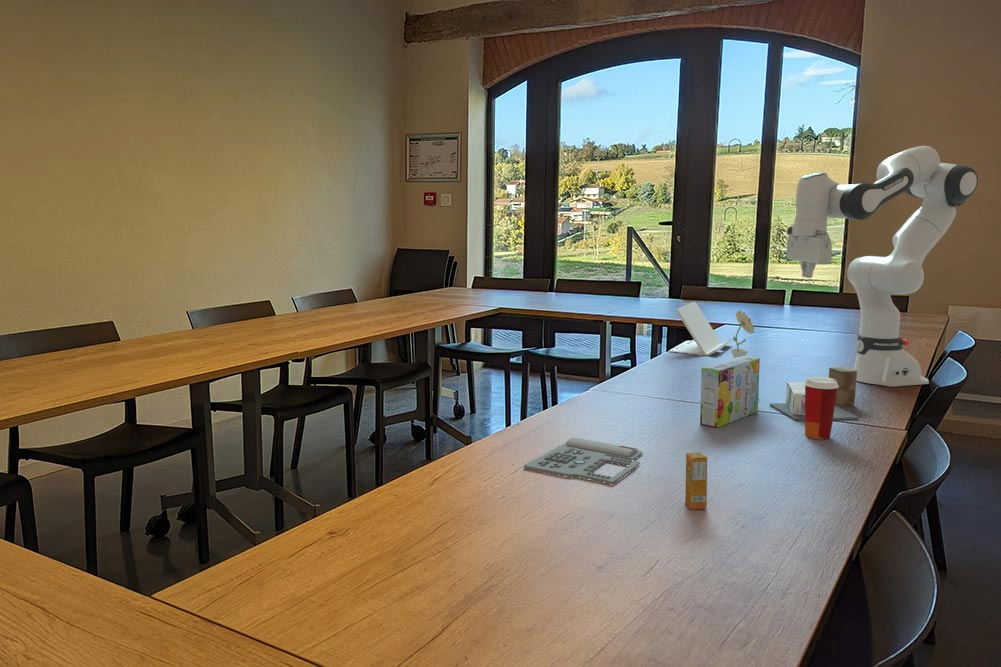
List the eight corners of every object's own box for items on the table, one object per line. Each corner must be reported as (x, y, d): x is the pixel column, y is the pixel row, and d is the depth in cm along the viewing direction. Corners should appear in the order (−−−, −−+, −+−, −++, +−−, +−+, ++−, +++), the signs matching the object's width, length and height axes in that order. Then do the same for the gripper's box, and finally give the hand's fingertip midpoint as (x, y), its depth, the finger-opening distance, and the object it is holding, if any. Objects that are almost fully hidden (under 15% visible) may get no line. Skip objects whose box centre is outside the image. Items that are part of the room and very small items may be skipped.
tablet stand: (668, 352, 285) (670, 308, 282) (686, 342, 306) (688, 300, 303) (717, 357, 276) (719, 311, 273) (732, 346, 297) (734, 303, 295)
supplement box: (682, 503, 141) (685, 451, 139) (700, 502, 141) (703, 451, 139) (688, 510, 137) (691, 457, 136) (707, 509, 138) (709, 457, 136)
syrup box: (806, 402, 210) (816, 416, 196) (784, 401, 211) (792, 415, 198) (808, 382, 209) (818, 395, 195) (786, 381, 211) (794, 393, 197)
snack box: (739, 408, 206) (742, 354, 204) (758, 412, 202) (762, 357, 200) (697, 424, 191) (700, 366, 189) (717, 429, 187) (721, 369, 185)
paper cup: (833, 433, 184) (837, 377, 181) (836, 442, 177) (840, 384, 174) (798, 430, 186) (802, 375, 184) (800, 439, 179) (804, 381, 177)
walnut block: (841, 401, 214) (844, 366, 212) (854, 405, 209) (857, 370, 207) (826, 402, 213) (829, 367, 211) (838, 407, 208) (841, 371, 206)
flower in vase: (759, 403, 212) (765, 314, 208) (717, 400, 214) (722, 313, 210) (754, 391, 224) (759, 308, 220) (714, 389, 227) (718, 307, 222)
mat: (828, 404, 210) (828, 402, 210) (858, 419, 196) (858, 417, 196) (769, 405, 209) (769, 403, 209) (795, 421, 194) (795, 418, 194)
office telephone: (573, 432, 178) (654, 446, 168) (573, 443, 178) (654, 457, 168) (523, 458, 159) (611, 476, 148) (523, 471, 159) (611, 489, 149)
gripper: (839, 231, 209) (836, 280, 211) (803, 228, 229) (800, 274, 232) (817, 231, 209) (814, 281, 211) (783, 228, 229) (781, 274, 231)
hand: (807, 277), depth 221 cm, fingers closed
